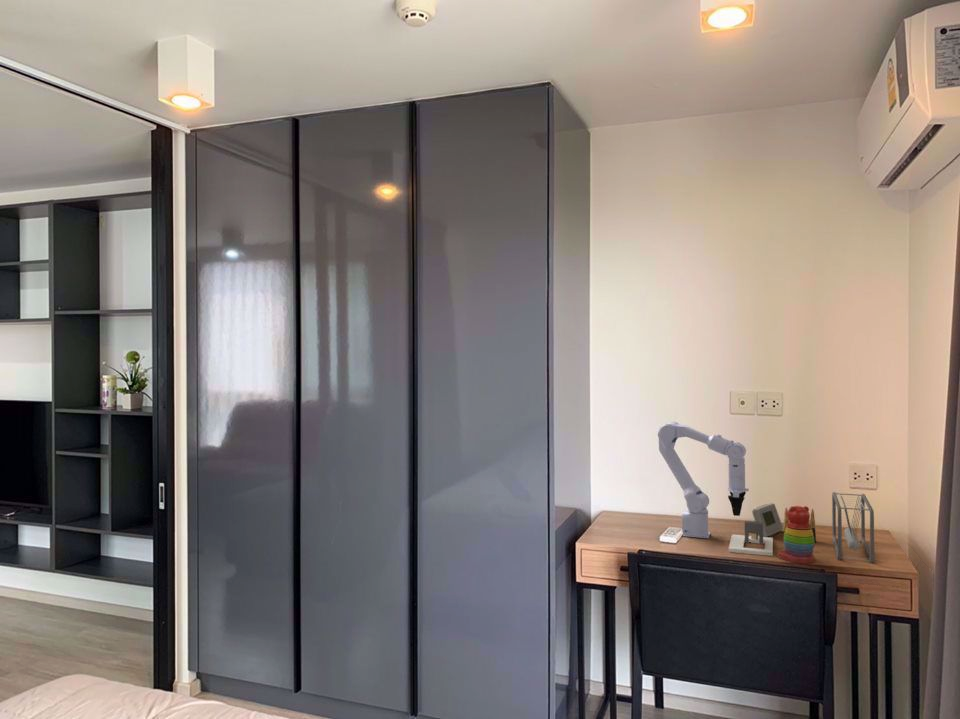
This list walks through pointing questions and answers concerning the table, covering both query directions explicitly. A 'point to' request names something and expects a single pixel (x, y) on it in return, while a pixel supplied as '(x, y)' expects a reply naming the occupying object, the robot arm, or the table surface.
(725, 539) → the table surface
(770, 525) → the digital clock
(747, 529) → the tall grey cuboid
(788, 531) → the stacking bear
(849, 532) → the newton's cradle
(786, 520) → the ammunition clip
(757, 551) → the white slotted board
